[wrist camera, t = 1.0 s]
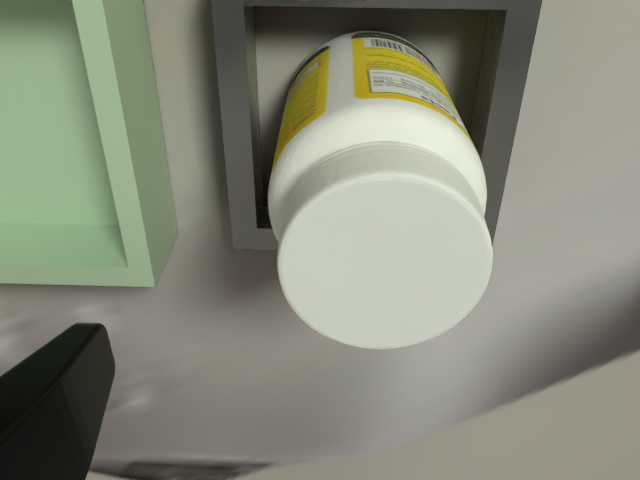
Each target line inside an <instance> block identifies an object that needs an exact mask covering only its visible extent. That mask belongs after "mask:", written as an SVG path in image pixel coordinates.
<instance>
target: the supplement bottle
mask: <svg viewBox="0 0 640 480" xmlns="http://www.w3.org/2000/svg"><path fill="white" fill-rule="evenodd" d="M486 201H487V188H486V179H485V174H484V170H483V166H482V163H481V160H480V157H479V155H478V153H477V151H476V149H475V147H474V144H473V142H472V140H471V138H470V136H469V134H468V132H467V130H466V128H465V126H464V124H463V122H462V120H461V118H460V116H459V114H458V112H457V110H456V108H455V106H454V104H453V102H452V100H451V98H450V96H449V94H448V92H447V90H446V88H445V86H444V84H443V82H442V80H441V78H440V75H439V73H438V72H437V70H436V68H435V67H434V65H433V64H432V62H431V61H430V59H429V58H428V57H427V56H426V55H425V54H424V53H423V52H422V51H421V50H420V49H419V48H418V47H416V46H415V45H413V44H412V43H410V42H409V41H407V40H405V39H403V38H401V37H399V36H396V35H393V34H390V33H386V32H381V31H357V32H351V33H347V34H344V35H341V36H338V37H336V38H334V39H332V40H330V41H328V42H326V43H325V44H323V45H321V46H320V47H319V48H317V49H316V50H315V51H314V52H312V53H311V54H310V55H309V56H308V57H307V58H306V59H305V60H304V62H303V63H302V64H301V65H300V67H299V68H298V70H297V71H296V73H295V75H294V77H293V79H292V82H291V84H290V87H289V90H288V94H287V98H286V103H285V107H284V112H283V118H282V122H281V127H280V132H279V137H278V142H277V147H276V152H275V156H274V161H273V167H272V171H271V176H270V181H269V188H268V210H269V216H270V222H271V226H272V229H273V232H274V235H275V237H276V239H277V241H278V250H277V272H278V278H279V282H280V285H281V288H282V291H283V294H284V296H285V298H286V300H287V301H288V303H289V305H290V306H291V308H292V309H293V310H294V311H295V313H296V314H297V315H298V316H299V317H300V318H301V319H302V320H303V321H304V322H305V323H306V324H307V325H308V326H310V327H311V328H312V329H314V330H315V331H317V332H318V333H320V334H322V335H324V336H325V337H327V338H330V339H332V340H335V341H337V342H340V343H343V344H346V345H350V346H354V347H359V348H366V349H393V348H402V347H407V346H412V345H416V344H419V343H422V342H425V341H428V340H430V339H432V338H435V337H437V336H439V335H441V334H443V333H444V332H446V331H448V330H449V329H451V328H452V327H454V326H455V325H456V324H458V323H459V322H460V321H461V320H463V319H464V318H465V316H466V315H467V314H468V313H469V312H470V311H471V310H472V309H473V308H474V307H475V305H476V304H477V303H478V302H479V300H480V299H481V297H482V295H483V293H484V292H485V289H486V287H487V284H488V282H489V278H490V275H491V271H492V262H493V250H492V243H491V237H490V234H489V231H488V228H487V225H486V221H485V218H484V215H485V209H486Z"/></svg>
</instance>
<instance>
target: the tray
mask: <svg viewBox="0 0 640 480" xmlns="http://www.w3.org/2000/svg"><path fill="white" fill-rule="evenodd" d="M177 236H178V231H177V224H176V217H175V210H174V204H173V197H172V190H171V183H170V177H169V170H168V163H167V156H166V150H165V143H164V136H163V129H162V123H161V116H160V109H159V102H158V96H157V89H156V82H155V75H154V69H153V62H152V55H151V48H150V42H149V35H148V28H147V21H146V15H145V8H144V1H143V0H0V283H12V284H52V285H91V286H131V287H155V286H156V284H157V282H158V279H159V277H160V275H161V272H162V270H163V268H164V266H165V263H166V261H167V259H168V256H169V254H170V252H171V249H172V247H173V245H174V243H175V240H176V238H177Z"/></svg>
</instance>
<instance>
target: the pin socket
mask: <svg viewBox="0 0 640 480" xmlns="http://www.w3.org/2000/svg"><path fill="white" fill-rule="evenodd" d="M541 4H542V0H211V8H212V20H213V31H214V42H215V53H216V65H217V76H218V87H219V99H220V110H221V121H222V132H223V144H224V155H225V166H226V177H227V189H228V200H229V211H230V223H231V234H232V245H233V249H240V250H278V241H277V239H276V237H275V235H274V232H273V229H272V226H271V222H270V216H269V210H268V200H263V184H262V165H261V145H260V126H259V106H258V87H257V67H256V48H255V29H254V9H253V6H288V7H355V8H422V9H489V15H488V21H487V27H486V34H485V40H484V46H483V53H482V59H481V65H480V72H479V78H478V84H477V91H476V97H475V103H474V110H473V116H472V122H471V129H470V135H469V136H470V138H471V140H472V142H473V144H474V147H475V149H476V151H477V153H478V155H479V157H480V160H481V163H482V166H483V170H484V174H485V179H486V188H487V201H486V209H485V215H484V218H485V221H486V225H487V228H488V231H489V234H490V237H491V243H492V245H493V240H494V235H495V230H496V225H497V220H498V215H499V210H500V206H501V201H502V196H503V191H504V186H505V181H506V176H507V171H508V166H509V161H510V156H511V151H512V147H513V142H514V137H515V132H516V127H517V122H518V117H519V112H520V107H521V102H522V97H523V92H524V88H525V83H526V78H527V73H528V68H529V63H530V58H531V53H532V48H533V43H534V38H535V33H536V29H537V24H538V19H539V14H540V9H541Z"/></svg>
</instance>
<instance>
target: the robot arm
mask: <svg viewBox="0 0 640 480" xmlns="http://www.w3.org/2000/svg"><path fill="white" fill-rule="evenodd" d="M114 374H115V361H114V357H113V353H112V349H111V345H110V341H109V338H108V334H107V330H106V328H105V327H104V325H102V324H100V323H76V324H74V325H72V326H71V327H69V328H68V329H66V330H65V331H64V332H62V333H61V334H59V335H58V336H57V337H55V338H54V339H52V340H51V341H49V342H48V343H47V344H45V345H44V346H42V347H41V348H40V349H38V350H37V351H35V352H34V353H33V354H31V355H30V356H28V357H27V358H26V359H24V360H23V361H21V362H20V363H19V364H17V365H16V366H14V367H13V368H12V369H10V370H9V371H7V372H6V373H5V374H3V375H2V376H0V480H85V479H86V476H87V473H88V470H89V467H90V464H91V461H92V457H93V454H94V450H95V447H96V443H97V439H98V435H99V432H100V428H101V424H102V420H103V416H104V413H105V409H106V405H107V401H108V398H109V394H110V390H111V386H112V383H113V379H114Z"/></svg>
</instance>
